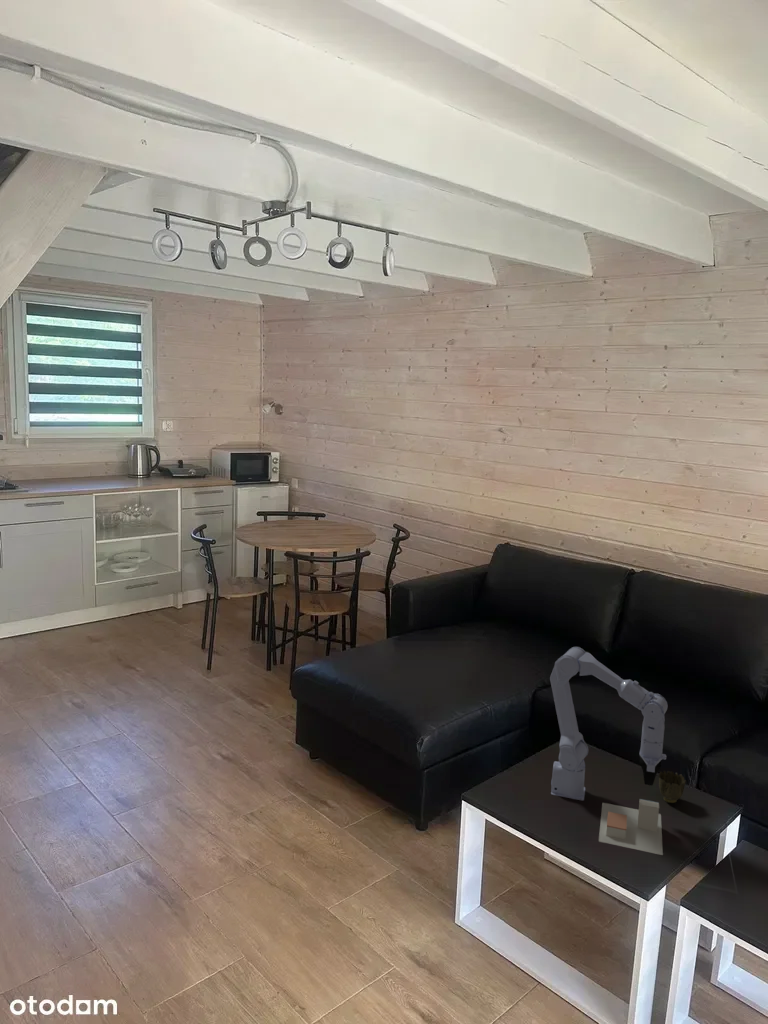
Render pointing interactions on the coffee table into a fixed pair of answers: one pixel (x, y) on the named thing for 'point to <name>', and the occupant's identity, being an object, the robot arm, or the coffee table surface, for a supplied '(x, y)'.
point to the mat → (631, 831)
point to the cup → (671, 786)
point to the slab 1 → (616, 825)
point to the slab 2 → (648, 815)
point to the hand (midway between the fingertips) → (648, 783)
